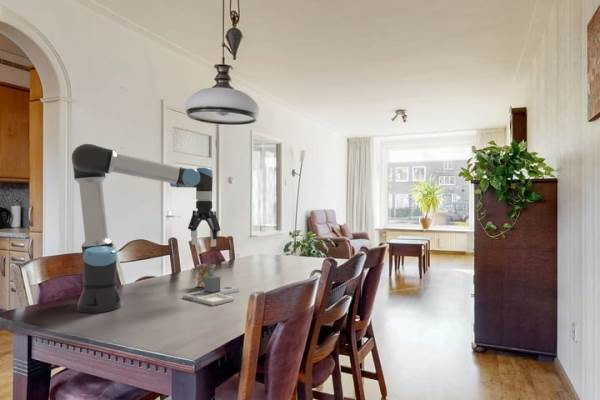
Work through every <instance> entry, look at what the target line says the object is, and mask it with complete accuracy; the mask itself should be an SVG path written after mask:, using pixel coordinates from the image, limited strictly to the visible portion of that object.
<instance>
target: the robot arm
mask: <svg viewBox="0 0 600 400" xmlns="http://www.w3.org/2000/svg"><path fill="white" fill-rule="evenodd" d="M71 163H72V168H73V171H72V172H73V178H74V181H75V182H76V183H78V185H79V195H80V205H81V214H82V222H83V233H84V234H83V235H84V242H83V243H82V244H81V253H82V264H83V268H82V270H83V272H82V277H83V278H82V291H81V294H80V296H79V299H78V301H77V302H78V303H77V312H79V313H84V314H94V313H95V314H97V313H105V312H111V311H115V310H118V309H119V308H121V305H122V304H121V303H122V302H121V301H122V300H121V297H120V295H119V292H118V289H117V264H118V263H117V259H118V254H117V249H116V248H114V245H113V244H114V243H113V241H112V240H111V239H110V238H109V236H108V226H107V225H108V224H107V217H106V206H105V195H104V188H103V187H104V186H103V181H105V179H106V174H108V175H110V173H116V174H120V175H121V174H122V175H127V176H132V177H138V178H142V179H148V180H153V181H159V182H164V183H169V185H170V187H172V188H195V191H196V192H195V199H196V201H195V209H197V210H192V214H191V219H190V221H189V224H188V227H187V229H188V230H190V232H191V233H190V237H191V245H198V229H197V228H198V227H199V225H200V223H201V222H202V221H205V222H206V223H207V225H208V227H209V228H210V230H211V232H210V248H212V247H217V239H218V232H221V228H220V226H221V225H220V224H219V221H218V218H217V212H216V211H215V210H212V209H213V201H212V200H213V181H214V180H213V179H214V177H213V176H214V175H213V169H212V168H210V167H197V168H196V169H195V168H185V167H181V166H178V165H172V164H169V163H168V164H167V163H164V162H163V163H162V162H158V161H153V160H149V159H144V158H140V157H134V156H130V155H126V154H125V155H124V154H121V153H120V154H119V153H116V152H115V151H114V150H113V149H110V148H106V147H104V146H103V147H102V146H99V145H96V144H93V143H92V144H91V143H83V144H81V145H80V144H79V145H78V146H77V147H75V149H74V150H73V151H72V153H71Z"/></svg>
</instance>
